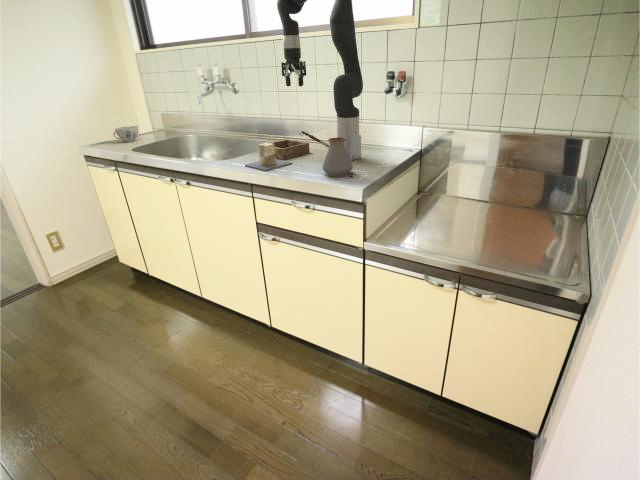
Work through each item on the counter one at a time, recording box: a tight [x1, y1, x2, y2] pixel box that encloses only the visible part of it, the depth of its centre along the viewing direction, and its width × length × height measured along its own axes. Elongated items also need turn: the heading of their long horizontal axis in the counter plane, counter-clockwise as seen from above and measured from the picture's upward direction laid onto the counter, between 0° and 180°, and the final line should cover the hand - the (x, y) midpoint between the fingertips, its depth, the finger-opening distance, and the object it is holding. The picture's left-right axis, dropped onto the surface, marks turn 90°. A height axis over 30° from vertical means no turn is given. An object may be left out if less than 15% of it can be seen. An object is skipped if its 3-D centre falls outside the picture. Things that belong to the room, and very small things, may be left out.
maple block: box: [258, 142, 277, 166], centre depth 156 cm, size 4×4×8 cm
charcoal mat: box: [244, 158, 293, 172], centre depth 158 cm, size 14×14×1 cm
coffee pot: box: [299, 130, 354, 178], centre depth 141 cm, size 21×12×15 cm, turn 59°
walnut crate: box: [271, 138, 310, 161], centre depth 175 cm, size 16×16×4 cm
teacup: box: [112, 125, 139, 143], centre depth 222 cm, size 15×12×8 cm
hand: (294, 86), depth 177 cm, fingers open, 8 cm apart
